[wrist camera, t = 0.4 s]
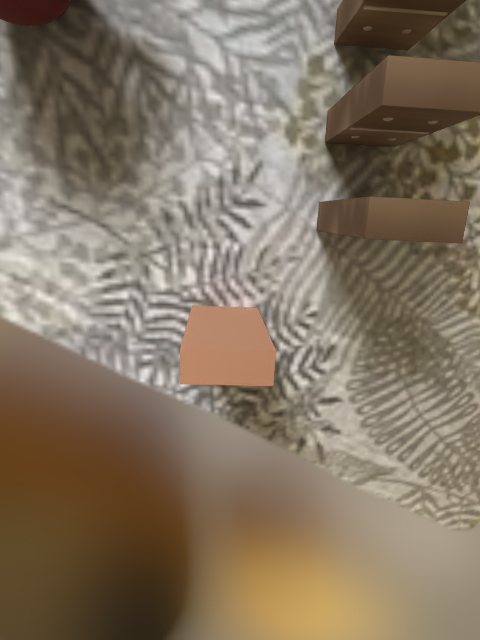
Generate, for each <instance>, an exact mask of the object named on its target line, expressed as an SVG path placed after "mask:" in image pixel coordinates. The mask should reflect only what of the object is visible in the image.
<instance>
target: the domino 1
mask: <svg viewBox="0 0 480 640" xmlns="http://www.w3.org/2000/svg"><path fill="white" fill-rule="evenodd" d="M275 357H276V350H275V348H274V345H273V343H272V341H271V338H270V336H269V333H268V331H267V329H266V326H265V324H264V322H263V319H262V317H261V315H260V312H259V310H258V308H248V307H219V306H192V308H191V312H190V315H189V319H188V323H187V326H186V330H185V333H184V337H183V341H182V344H181V348H180V384H197V385H242V386H273V384H274V371H275Z"/></svg>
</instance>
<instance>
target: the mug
mask: <svg viewBox="0 0 480 640" xmlns="http://www.w3.org/2000/svg"><path fill="white" fill-rule="evenodd" d="M71 1H72V0H0V19H2V20H5V21H7V22H10V23H14V24H18V25H24V26H36V25H42V24H46V23H49V22H51V21H53V20H55V19H57V18H58V17H60V16H61V15H62V14H63V13H64V12H65V11H66V9H67V8H68V6H69V4H70V3H71Z"/></svg>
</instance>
